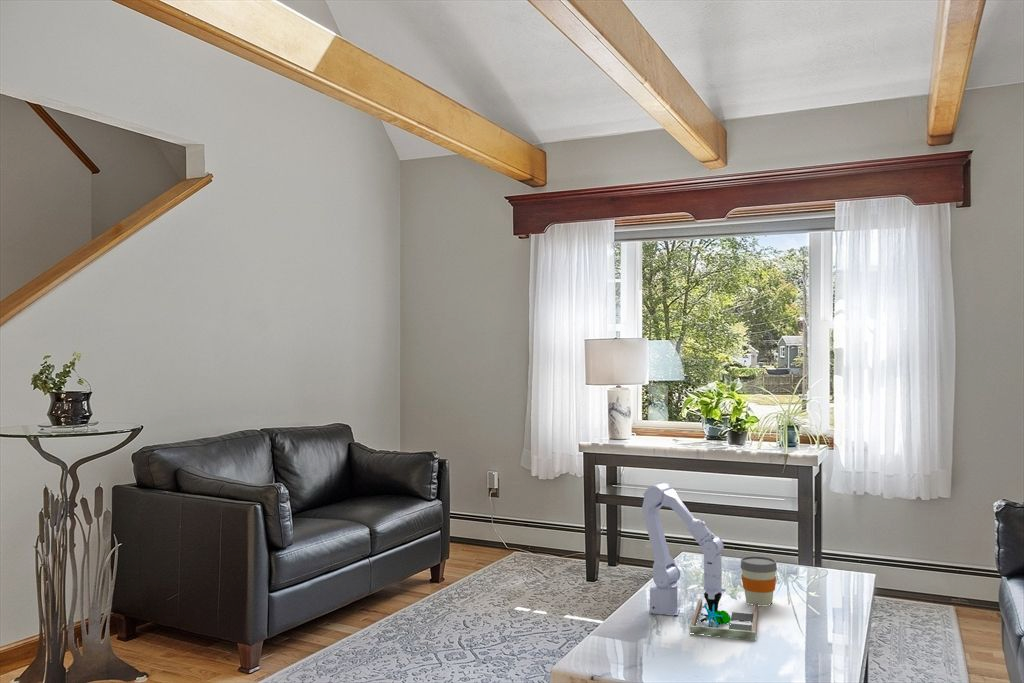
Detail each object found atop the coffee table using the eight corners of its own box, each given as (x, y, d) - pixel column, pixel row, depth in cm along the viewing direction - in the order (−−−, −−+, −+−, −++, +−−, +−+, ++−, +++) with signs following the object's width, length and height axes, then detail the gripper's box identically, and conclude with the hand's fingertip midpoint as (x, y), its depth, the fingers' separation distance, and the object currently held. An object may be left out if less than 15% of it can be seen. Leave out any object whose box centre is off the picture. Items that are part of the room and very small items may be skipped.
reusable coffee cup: (738, 605, 293) (738, 563, 293) (743, 595, 304) (742, 554, 305) (776, 609, 288) (775, 566, 288) (778, 599, 300) (778, 557, 300)
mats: (728, 632, 266) (728, 631, 266) (732, 612, 285) (732, 612, 285) (751, 634, 264) (750, 633, 264) (753, 614, 283) (753, 613, 283)
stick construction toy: (707, 623, 267) (702, 600, 272) (693, 631, 271) (689, 608, 276) (735, 628, 272) (730, 605, 277) (721, 635, 276) (716, 613, 281)
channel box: (690, 634, 264) (690, 626, 264) (699, 606, 293) (699, 599, 293) (755, 640, 258) (755, 632, 258) (758, 611, 286) (758, 603, 286)
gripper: (723, 580, 269) (724, 622, 269) (726, 569, 283) (726, 609, 283) (701, 579, 271) (701, 620, 271) (705, 567, 285) (705, 607, 285)
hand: (713, 614), depth 277 cm, fingers closed
